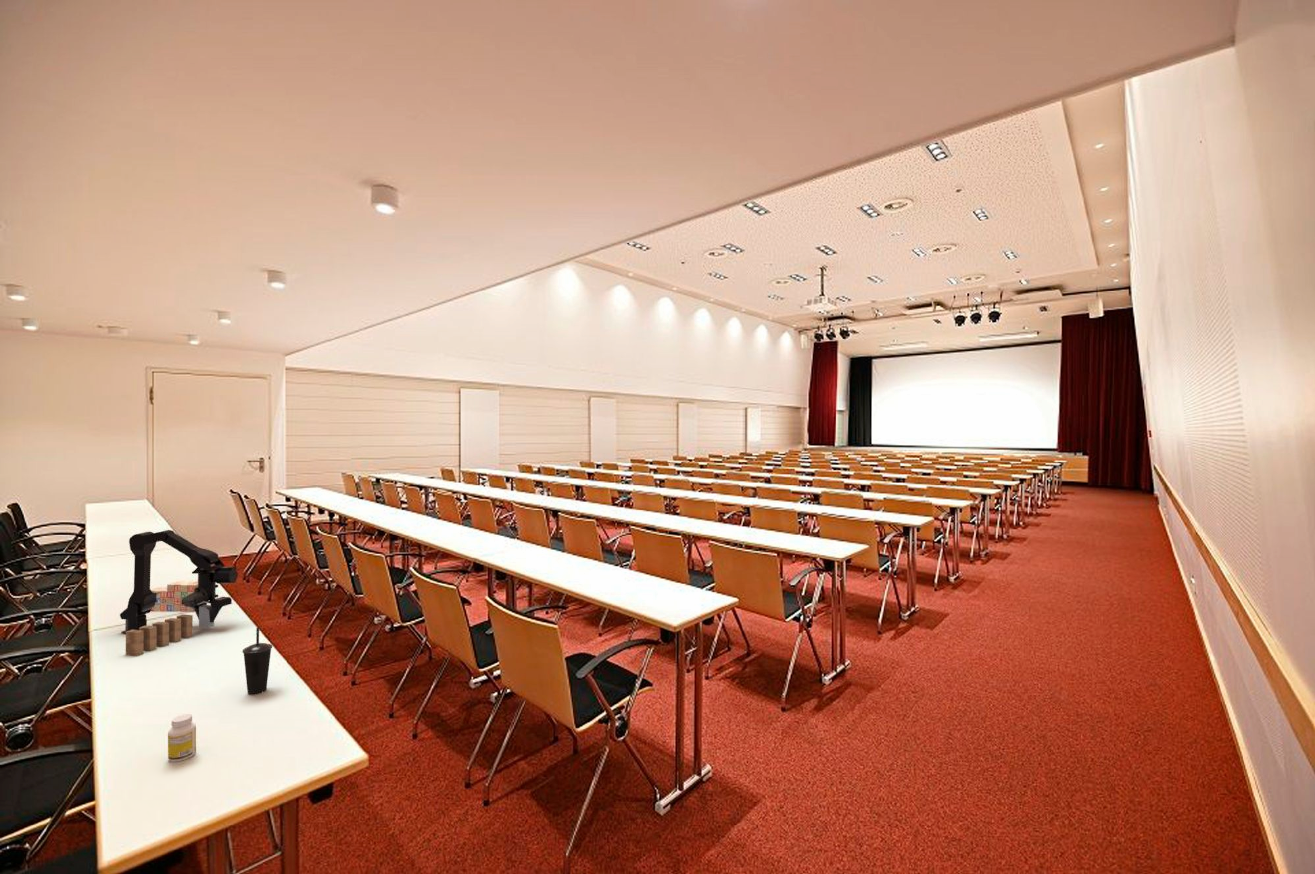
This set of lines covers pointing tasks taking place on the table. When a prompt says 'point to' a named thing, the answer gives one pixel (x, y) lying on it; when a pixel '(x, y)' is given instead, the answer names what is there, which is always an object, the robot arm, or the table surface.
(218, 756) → the table surface
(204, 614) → the slate domino
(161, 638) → the domino
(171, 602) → the stack of blocks
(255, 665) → the drinking cup
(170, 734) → the supplement bottle
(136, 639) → the domino
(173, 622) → the domino
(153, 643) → the domino
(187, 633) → the domino
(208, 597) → the robot arm
